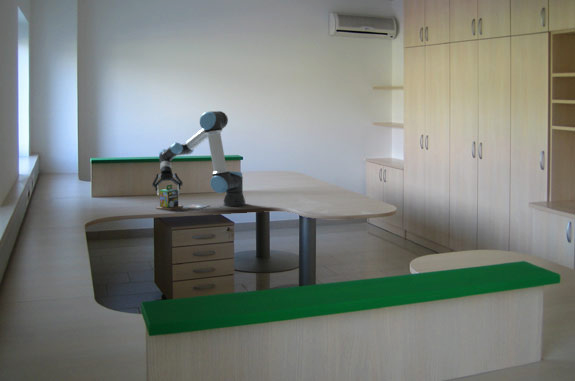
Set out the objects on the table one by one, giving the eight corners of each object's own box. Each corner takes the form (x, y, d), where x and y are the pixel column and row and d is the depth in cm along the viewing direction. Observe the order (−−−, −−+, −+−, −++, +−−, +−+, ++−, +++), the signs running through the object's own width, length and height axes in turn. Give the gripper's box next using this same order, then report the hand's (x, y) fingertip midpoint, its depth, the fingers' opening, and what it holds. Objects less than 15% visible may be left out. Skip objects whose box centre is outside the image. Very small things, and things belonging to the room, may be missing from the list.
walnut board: (183, 207, 432) (183, 205, 432) (172, 210, 420) (171, 208, 420) (167, 205, 437) (167, 204, 437) (155, 208, 426) (155, 207, 426)
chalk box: (170, 204, 435) (169, 183, 433) (179, 206, 429) (178, 184, 427) (159, 206, 428) (158, 184, 426) (168, 208, 422) (167, 186, 420)
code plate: (209, 205, 435) (209, 205, 435) (198, 209, 423) (198, 208, 423) (192, 204, 441) (192, 204, 441) (180, 207, 429) (180, 207, 429)
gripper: (183, 171, 447) (186, 196, 435) (147, 173, 441) (149, 198, 429) (184, 165, 441) (187, 189, 429) (147, 166, 435) (149, 191, 423)
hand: (168, 193), depth 429 cm, fingers open, 13 cm apart
